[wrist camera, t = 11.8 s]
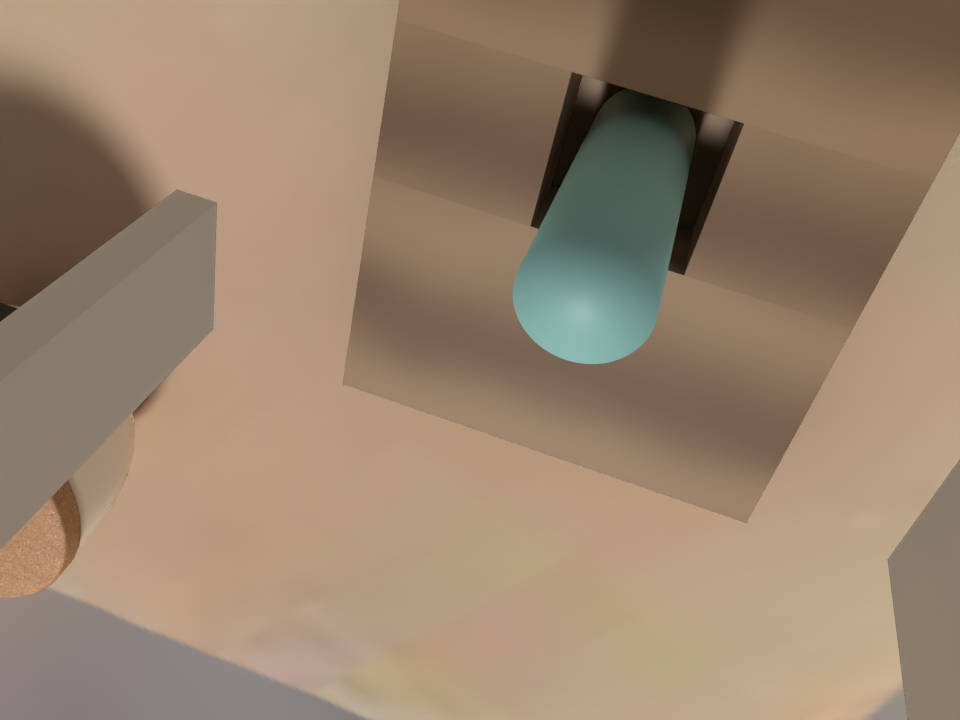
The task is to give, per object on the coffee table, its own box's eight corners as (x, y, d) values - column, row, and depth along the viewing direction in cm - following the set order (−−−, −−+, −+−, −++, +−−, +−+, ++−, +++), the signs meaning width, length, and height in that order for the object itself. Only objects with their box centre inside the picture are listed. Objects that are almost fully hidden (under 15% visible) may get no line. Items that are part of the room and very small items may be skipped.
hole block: (488, -341, 22) (451, -353, 19) (1088, -187, 20) (1130, -180, 18) (374, 338, 33) (342, 384, 31) (749, 465, 32) (746, 523, 29)
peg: (606, 73, 26) (528, 216, 18) (710, 100, 26) (678, 259, 18) (581, 170, 28) (500, 340, 20) (678, 196, 27) (635, 381, 19)
